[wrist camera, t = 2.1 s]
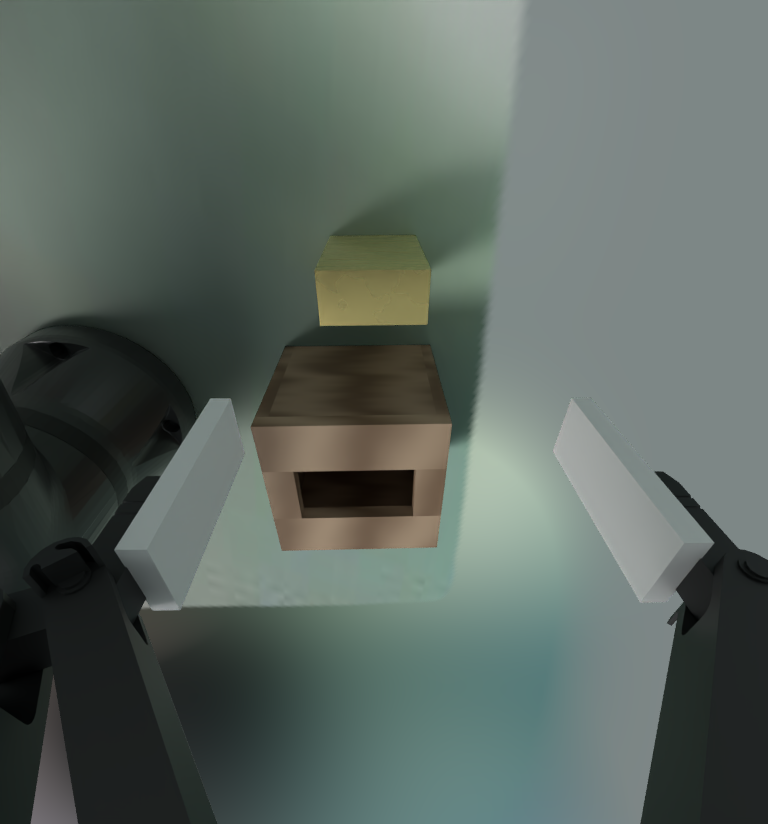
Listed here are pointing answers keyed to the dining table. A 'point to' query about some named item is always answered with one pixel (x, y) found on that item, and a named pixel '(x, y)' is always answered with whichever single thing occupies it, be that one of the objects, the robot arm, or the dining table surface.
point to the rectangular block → (373, 281)
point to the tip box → (354, 447)
